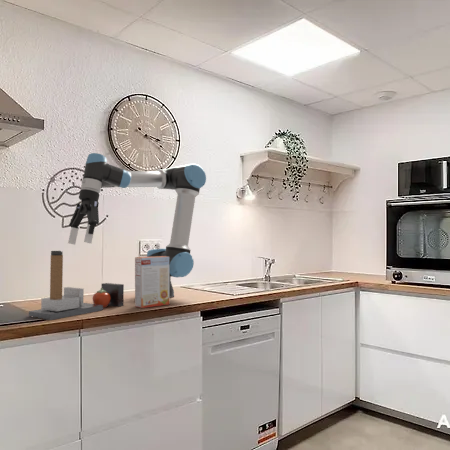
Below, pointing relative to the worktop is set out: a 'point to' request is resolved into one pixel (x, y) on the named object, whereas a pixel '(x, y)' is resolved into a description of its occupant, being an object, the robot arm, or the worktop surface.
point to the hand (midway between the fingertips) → (79, 243)
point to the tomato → (101, 298)
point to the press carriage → (60, 288)
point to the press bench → (85, 304)
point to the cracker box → (151, 281)
